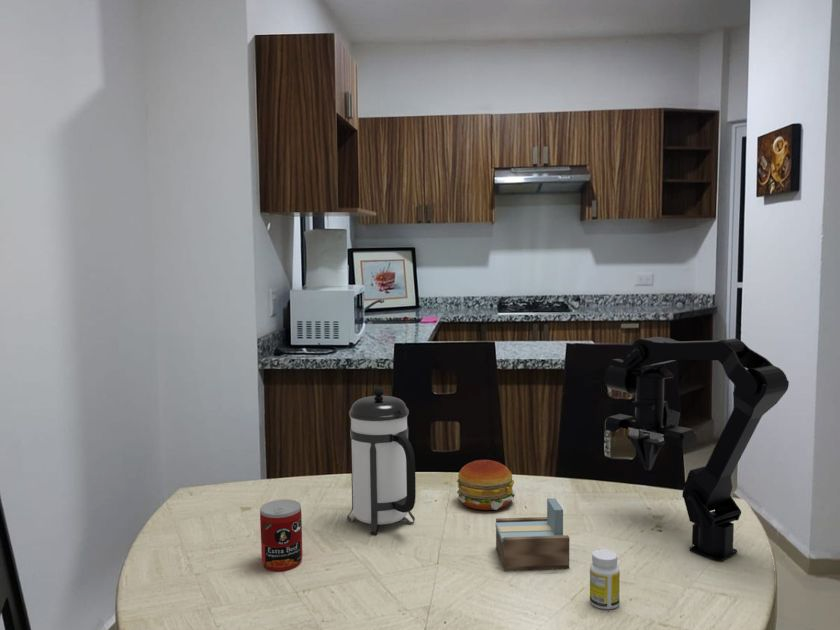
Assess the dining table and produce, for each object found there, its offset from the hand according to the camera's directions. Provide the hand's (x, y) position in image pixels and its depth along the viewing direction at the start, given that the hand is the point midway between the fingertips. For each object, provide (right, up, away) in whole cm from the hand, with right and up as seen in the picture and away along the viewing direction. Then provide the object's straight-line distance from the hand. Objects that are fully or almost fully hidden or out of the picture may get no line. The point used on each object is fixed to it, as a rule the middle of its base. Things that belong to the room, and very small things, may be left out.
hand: (648, 469), depth 145 cm
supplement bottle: (-18, -15, -31) cm, 39 cm away
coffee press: (-56, -13, +3) cm, 57 cm away
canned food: (-75, -15, -15) cm, 77 cm away
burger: (-33, -11, +15) cm, 38 cm away
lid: (-28, -9, -15) cm, 33 cm away
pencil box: (-27, -14, -14) cm, 34 cm away
